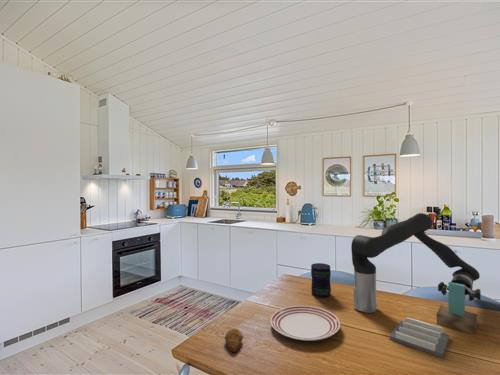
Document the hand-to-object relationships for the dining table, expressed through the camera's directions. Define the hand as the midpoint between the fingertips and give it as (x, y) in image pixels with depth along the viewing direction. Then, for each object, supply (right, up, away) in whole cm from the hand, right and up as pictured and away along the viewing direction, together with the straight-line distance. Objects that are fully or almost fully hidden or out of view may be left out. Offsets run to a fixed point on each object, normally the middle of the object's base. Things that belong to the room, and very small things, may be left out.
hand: (456, 295), depth 110 cm
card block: (-1, -7, -1) cm, 7 cm away
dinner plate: (-62, -13, -1) cm, 64 cm away
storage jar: (-47, -12, +30) cm, 57 cm away
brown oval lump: (-90, -13, -11) cm, 92 cm away
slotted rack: (-22, -11, -11) cm, 27 cm away
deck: (-1, -11, -1) cm, 11 cm away
